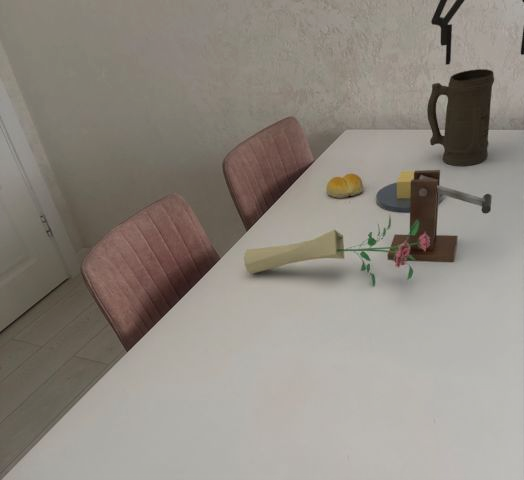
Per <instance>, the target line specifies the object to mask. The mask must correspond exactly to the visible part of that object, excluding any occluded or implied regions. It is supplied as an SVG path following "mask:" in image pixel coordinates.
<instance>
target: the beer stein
mask: <svg viewBox="0 0 524 480" xmlns="http://www.w3.org/2000/svg"><path fill="white" fill-rule="evenodd" d="M494 74H495V73H494V71H493V70H491V69H484V68H482V69H481V68H478V69H469V70H464V71H460V72H457V73H454V74H452V75H451V76H450V78H449V82H448V86H447V85H442V84H441V82H436V83H435V82H434V83H432V84H431V93H430V96H429V98H428V103H427V108H426V109H427V111H426V113H427V121H428V123H429V126H430V129H431V133H432V137H430V138H429V139H430V140H429V141H430V142H429V143H430V145H431V146H435V145H441V146H442V147H443V148H444V151H443V155H442V161H443V162H444V163H445V164H447V165H451V166H457V167H464V166H465V167H466V166H472V165H477V164H481V163H482V162H484V161H486V160H487V159H488V156H489V155H488V147H489V144H490V143H489V130H490V117H491V105H492V104H491V101H492V92H493V91H492V90H493V84H494V83H495V77H494ZM441 96H446V98H447V104H446V110H445V124H444V135H442V133H441V131H440V127H439V123H438V116H437V103H438V99H439V98H440V97H441Z"/></svg>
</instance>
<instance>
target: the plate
mask: <svg viewBox="0 0 524 480" xmlns="http://www.w3.org/2000/svg"><path fill="white" fill-rule="evenodd" d="M439 186H441V185H440V184H439ZM375 196H376V197H375V198H376V199H375V200H376V205H378V206H379V207H380V208H382V209H383V210H386V211H389V212H395V213H410V198H409V199H397V182H393V183H390V184H387V185H386V186H384V187H382V188H380V189H379V190H378V191H377V193H376V195H375ZM444 197H445V195H442V194H439V200H438V205H439V204H441V202H442V201H443V200H444Z"/></svg>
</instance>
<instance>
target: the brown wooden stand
mask: <svg viewBox="0 0 524 480" xmlns="http://www.w3.org/2000/svg"><path fill="white" fill-rule="evenodd" d="M414 171H415V172H414V180H411V193H410V212H409V230H410V229H411V227H412V226H413V224H414V223H415V221H416V220H417V219H418V221H419V228H418V231H417V233H416V234H415V236H414V235H411V233H409V234H394V235H393V238H392V241H391V244H390V247H395V246H398V245H401V244H402V243H404V242H405V241H407V243H408V244H412V243H417V242H418V239H419V237H420V236H421V235H423V234H424V233H425V232H426V235H427V236H428V237H430V239H429V240H430V242H429V244H430V245H428V247H427V248H426V251H425V252H424V250H423V249H421V248H419V247H418V245H417V244H415V245H409V246H410V252H409V255H411V256H412V257H413V258H414V259H415V260H416V261H417V262H418V261H420V262H421V261H422V262H443V263H444V262H446V263H453V262H454V261H455V255H456V250H457V244H458V238H459V237H458V235H446V234H445V235H444V234H443V235H442V234H441V235H440V234H437V231H438V216H439V204H438V200H439V194H438V193H437V185H440V182H441V169H435V170H434V169H429V170H428V169H426V170H423V169H422V170H414ZM421 175H423V176H427V177H430V178H433V179H419V178H420V176H421ZM407 235H408V236H407ZM409 236H410V237H409ZM408 237H409V238H408ZM407 239H408V240H407ZM395 249H397V248H395ZM395 249H394V248H389V249H388V251H396V250H395ZM394 257H395V253H390V252H387V260H391V261H394ZM407 257H408V256H407ZM415 260H413V259H410V258H407V261H415Z"/></svg>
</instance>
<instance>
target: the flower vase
mask: <svg viewBox="0 0 524 480" xmlns="http://www.w3.org/2000/svg"><path fill="white" fill-rule="evenodd" d="M388 217H389V219H388V225H387V228H385V227H383V231H382V233H381V230H380V229H381V228H380V226H379V224H377V228H378V233H377V236H376V238H377V239H375V238H374V237H372V236H373V231H370V232H369V233H368V235H367V236H368V238H367V239H366V240H364V242H366V241H367V242H366V243H360V244H359V245H357V247H359V248H355V247H356V245H354V246H353V248H352V246H351V247H348V248H345V245H344V244H345V243H344V235H343V234H341V233H340V232H339V231H338V230H337V229H332V230H330V231H328V232H325V233H324V234H322V235H320V236H317V237H315V238H313V239H309V240H306V241H301V242H297V243H292V244H286V245H278V246H267V247H259V248H251V249H246V250H245V252H244V255H243V262H244V266H245V269H246V271H247V272H248V273H249V274H257V273H261V272H265V271H268V270H271V269H274V268H279V267H282V266H285V265H290V264H294V263H299V262H305V261H311V260H317V259H319V260H321V259H341V260H344V259H345V252H353V253H355V254H357V252H360V253H359V255H358V257H359V258H360V260H361V261H362V264H361V267H360V271H361V272H363V271H367V273H368V274H369V275H370V276H371V281H372V286H373V287H375V285H376V276H375V274H374V273H372V272H370V270H371V264H370V263H368V264H366V263H365V260H366V261H369V262H372V260H371V258H370V256H369V254H367V253H366V252H381V253H388V252H390V253H395V257H394V260H393V262H394V263H395V265H394V267H396V268H397V269H399V268H400V266H405V265H406V263H407V261H408V260H407V258H410V259H413V260H412V261H417V260H415V259H414V258H413V257H412V256H411V255H409V252H410V246H409V245H415V244H417V245H418V247H419V248H421V249H423V250H424V252H425V251H426V248H427V247H428V245H430V244H429V242H430V240H429V239H430V237H428V236H427V235H426V232H425V233H424V234H423V235H421V236H420V237H419V239H418V242H417V243H412V244H408V243H407V241H405V242H404V243H402V244H401V245H398V246H395V247H391V246H386V247H373V246H375V245H376V244H377V243H378V242H380V240H383V238H384V237H385V236H386V234H387V231H388V230H390V228H391V226H392V218H391V215H389V216H388ZM418 228H419V221H418V219H417V220H416V221H415V223H414V224H413V226H412V227H411V229H410V228H409V232H408V233H407V234H406V235H407V236H408V235H410V233H411V235H414V236H415V234H416V233H417V231H418ZM409 237H410V236H409ZM409 237H408V238H409ZM407 240H408V239H407ZM364 245H368V246H369V247H364V248H361V247H362V246H364ZM390 248H394V249H395V248H397V249H395V250H396V251H389V249H390ZM407 256H408V257H407ZM363 259H365V260H363ZM408 266H409V269H408V272H407V273H408V274H407V281H409V280H410V279H411V278H412V277H413V274H414V270H413V268H412V267H411V265H410V264H408Z"/></svg>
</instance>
